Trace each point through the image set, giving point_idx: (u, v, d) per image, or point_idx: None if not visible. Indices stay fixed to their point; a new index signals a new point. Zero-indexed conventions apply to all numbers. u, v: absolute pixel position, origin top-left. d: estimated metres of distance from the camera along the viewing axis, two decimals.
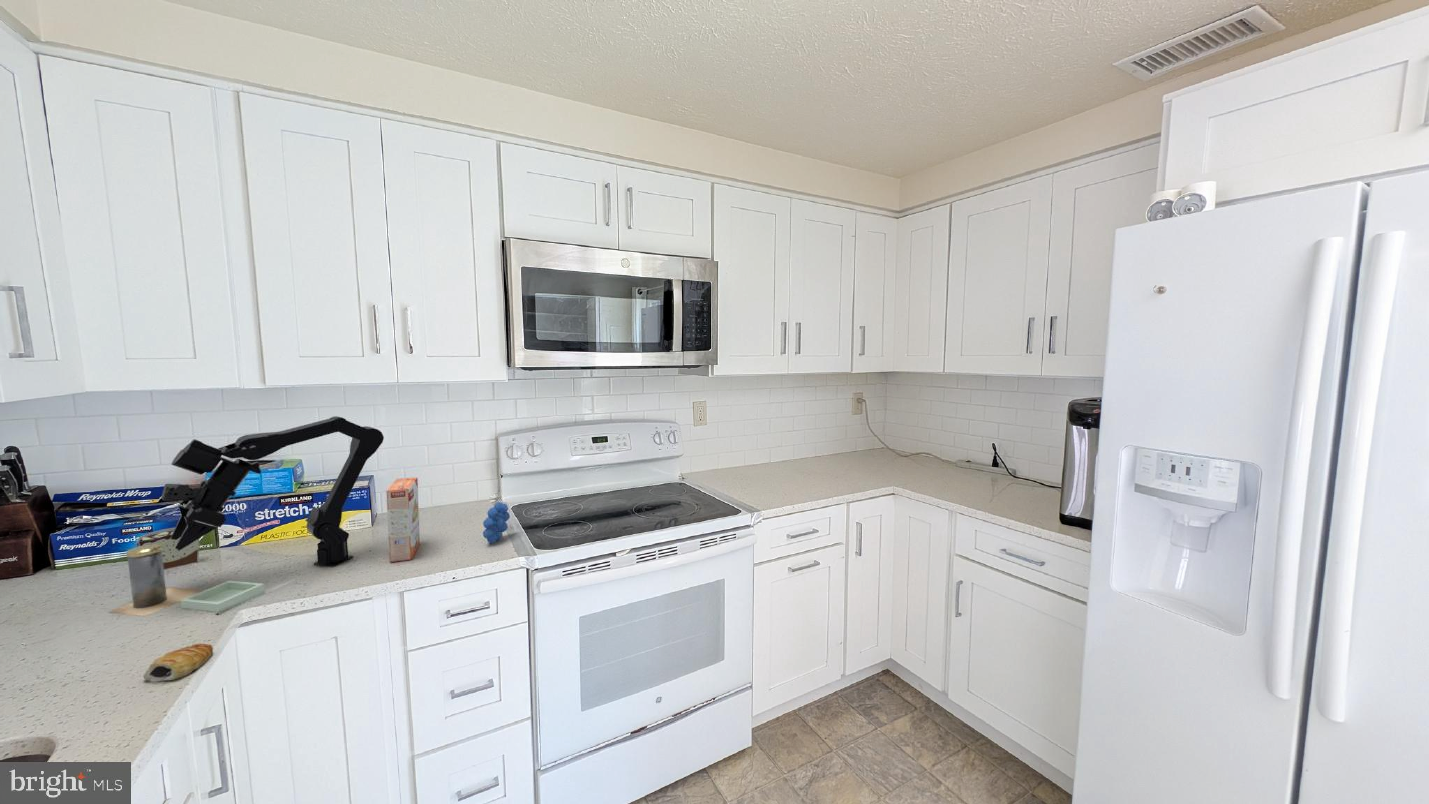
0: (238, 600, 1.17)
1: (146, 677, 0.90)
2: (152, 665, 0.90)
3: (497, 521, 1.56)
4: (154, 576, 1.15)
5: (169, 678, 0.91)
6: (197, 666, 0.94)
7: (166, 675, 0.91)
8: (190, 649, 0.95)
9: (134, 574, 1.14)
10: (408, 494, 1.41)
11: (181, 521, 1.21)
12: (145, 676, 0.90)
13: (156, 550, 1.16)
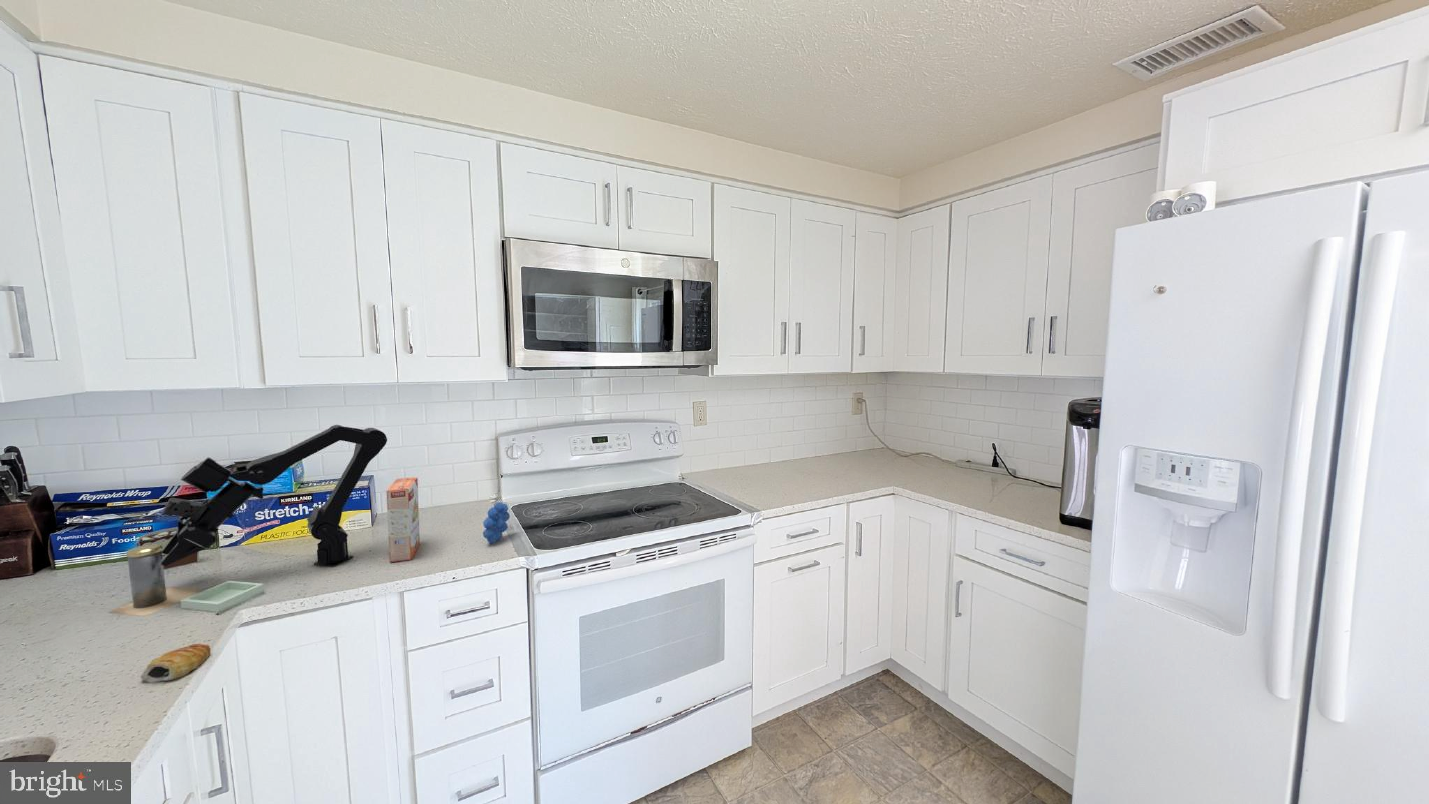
0: (238, 600, 1.17)
1: (143, 677, 0.90)
2: (150, 665, 0.90)
3: (497, 521, 1.56)
4: (154, 576, 1.15)
5: (167, 678, 0.90)
6: (195, 666, 0.94)
7: (164, 675, 0.91)
8: (188, 649, 0.95)
9: (134, 574, 1.14)
10: (408, 494, 1.41)
11: (176, 536, 1.22)
12: (143, 676, 0.90)
13: (156, 550, 1.16)
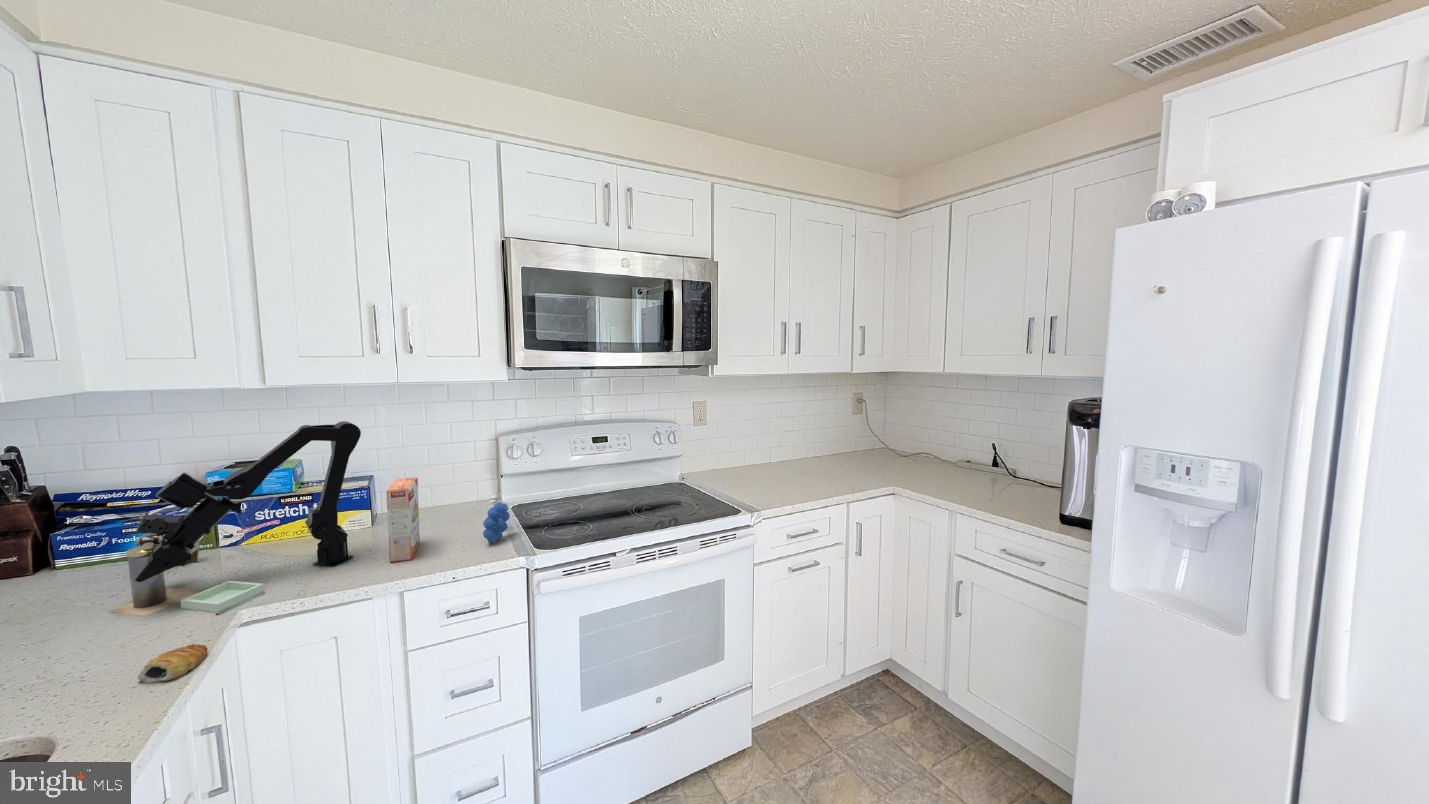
0: (238, 600, 1.17)
1: (140, 678, 0.90)
2: (147, 666, 0.90)
3: (497, 521, 1.56)
4: (154, 576, 1.15)
5: (164, 678, 0.90)
6: (192, 666, 0.94)
7: (161, 676, 0.91)
8: (185, 649, 0.95)
9: (134, 574, 1.14)
10: (408, 494, 1.41)
11: None
12: (140, 677, 0.90)
13: None
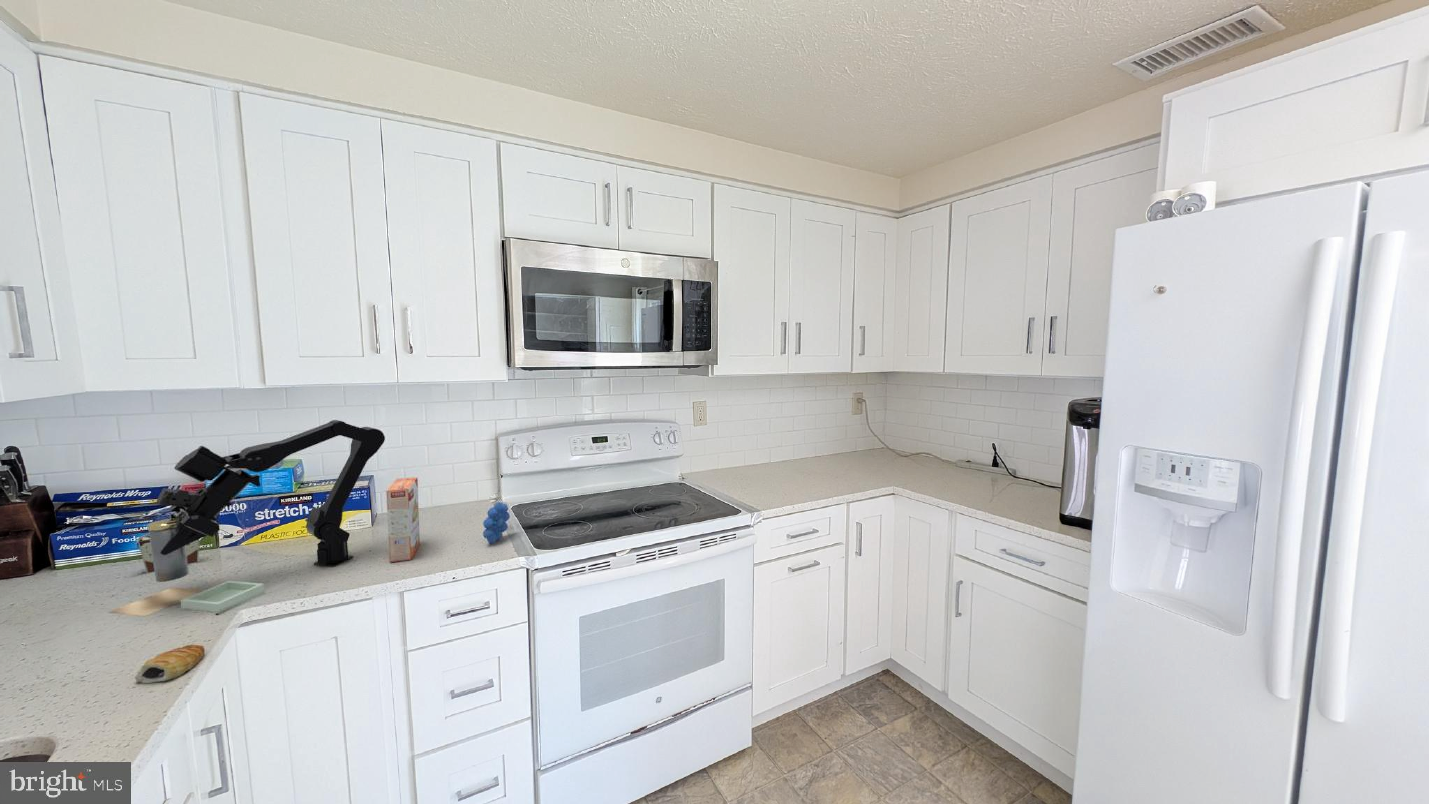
0: (238, 600, 1.17)
1: (138, 678, 0.90)
2: (144, 666, 0.90)
3: (497, 521, 1.56)
4: (177, 549, 1.15)
5: (162, 679, 0.90)
6: (190, 667, 0.94)
7: (159, 676, 0.91)
8: (182, 650, 0.95)
9: (157, 547, 1.13)
10: (408, 494, 1.41)
11: None
12: (137, 678, 0.90)
13: None
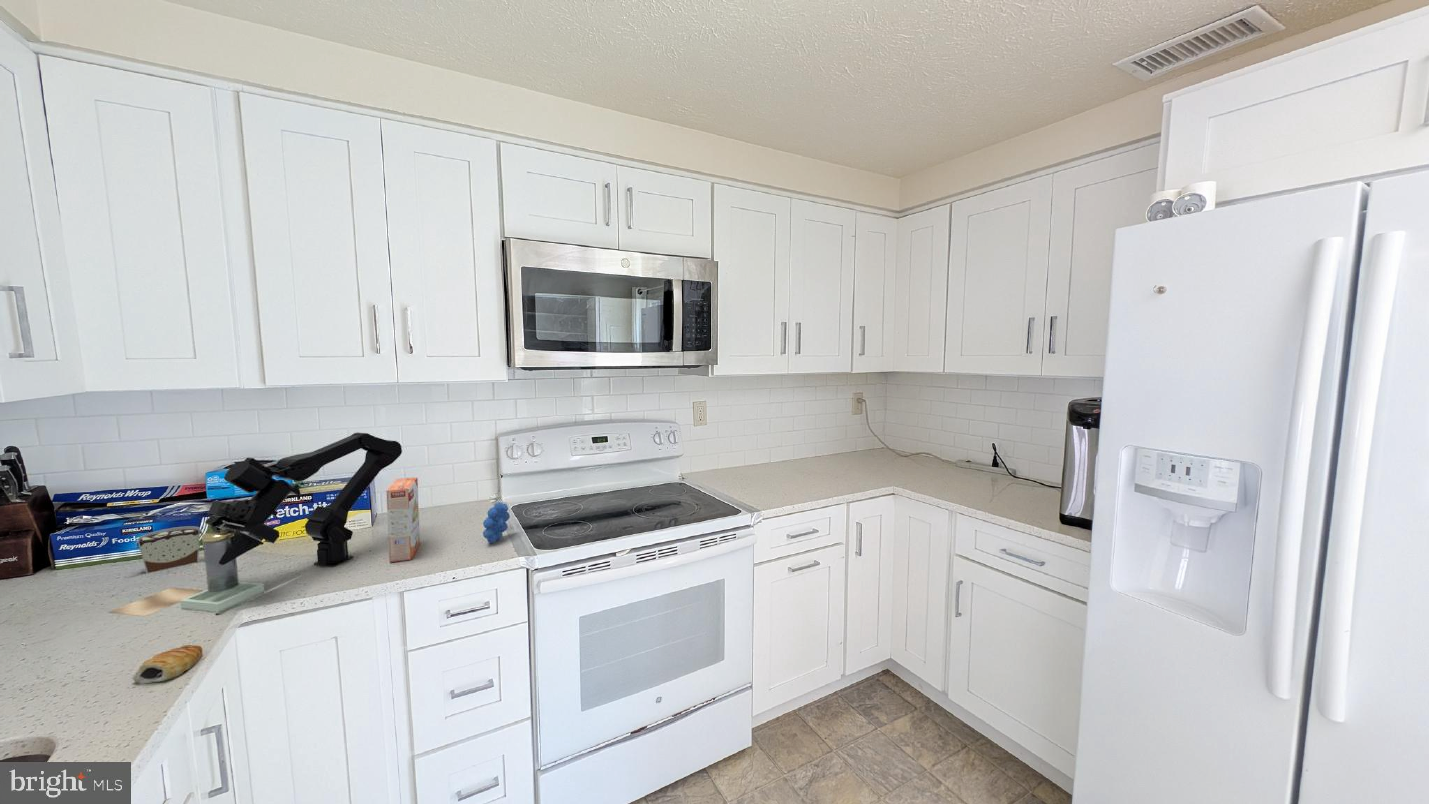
0: (238, 600, 1.17)
1: (136, 678, 0.90)
2: (142, 667, 0.90)
3: (497, 521, 1.56)
4: None
5: (160, 679, 0.90)
6: (188, 667, 0.94)
7: (157, 676, 0.91)
8: (180, 650, 0.95)
9: (215, 558, 1.15)
10: (408, 494, 1.41)
11: None
12: (135, 678, 0.90)
13: (233, 533, 1.18)
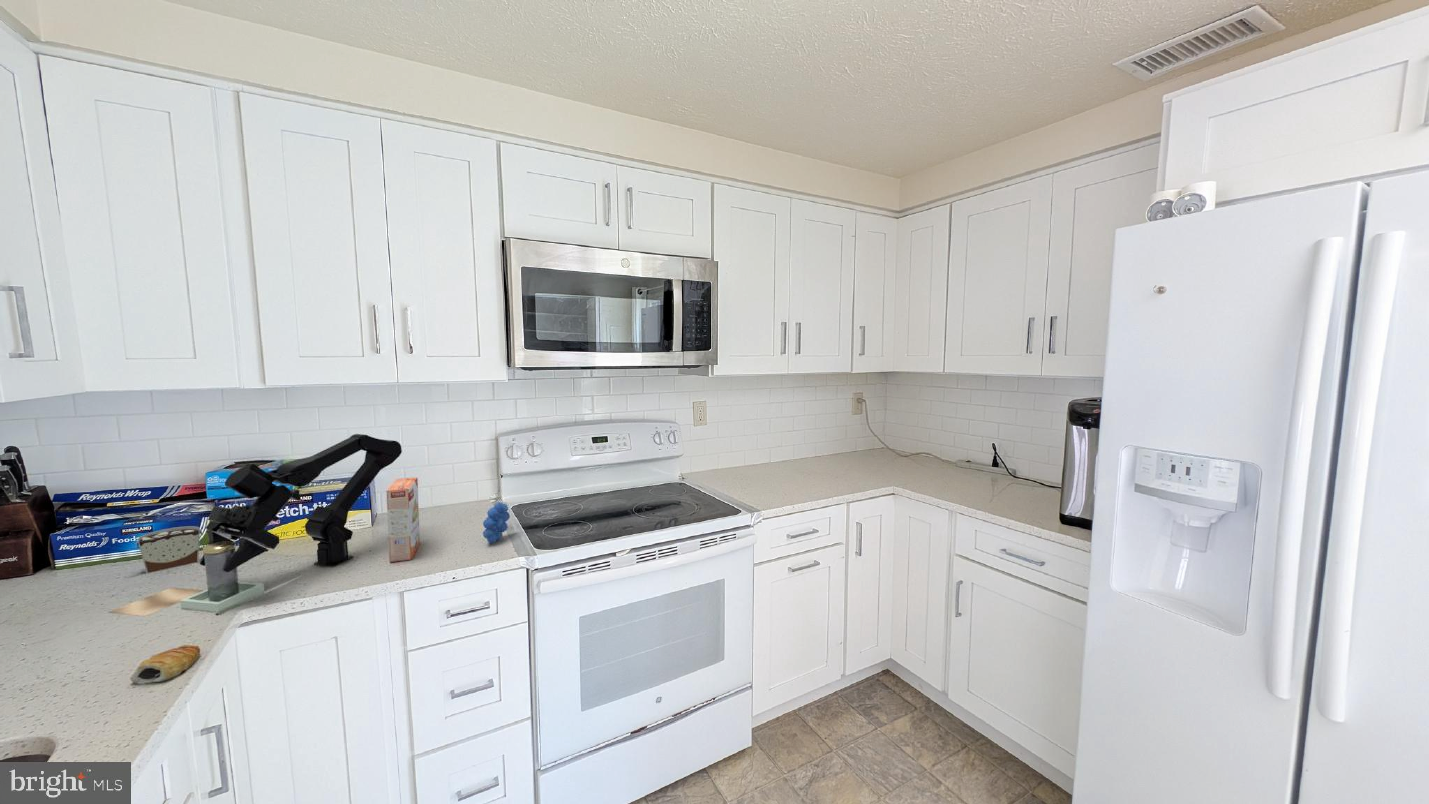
0: (238, 600, 1.17)
1: (133, 679, 0.90)
2: (140, 667, 0.90)
3: (497, 521, 1.56)
4: (233, 570, 1.18)
5: (158, 679, 0.90)
6: (186, 667, 0.94)
7: (155, 677, 0.91)
8: (178, 650, 0.95)
9: (216, 570, 1.16)
10: (408, 494, 1.41)
11: None
12: (133, 678, 0.90)
13: (234, 545, 1.18)
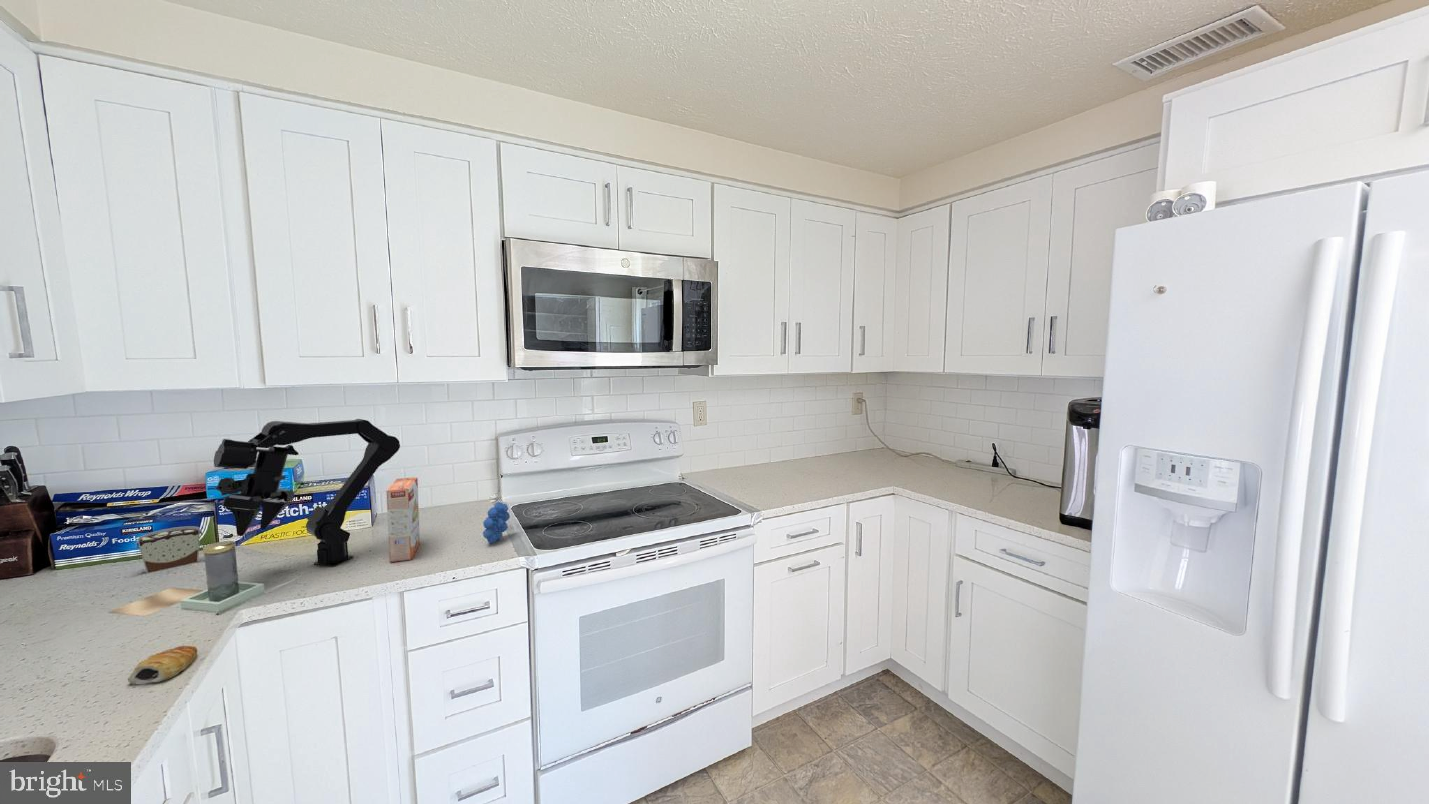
0: (238, 600, 1.17)
1: (131, 680, 0.89)
2: (137, 668, 0.90)
3: (497, 521, 1.56)
4: (234, 570, 1.18)
5: (156, 680, 0.90)
6: (184, 667, 0.94)
7: (152, 677, 0.91)
8: (175, 651, 0.94)
9: (216, 570, 1.16)
10: (408, 494, 1.41)
11: (263, 512, 1.32)
12: (130, 679, 0.89)
13: (234, 545, 1.18)
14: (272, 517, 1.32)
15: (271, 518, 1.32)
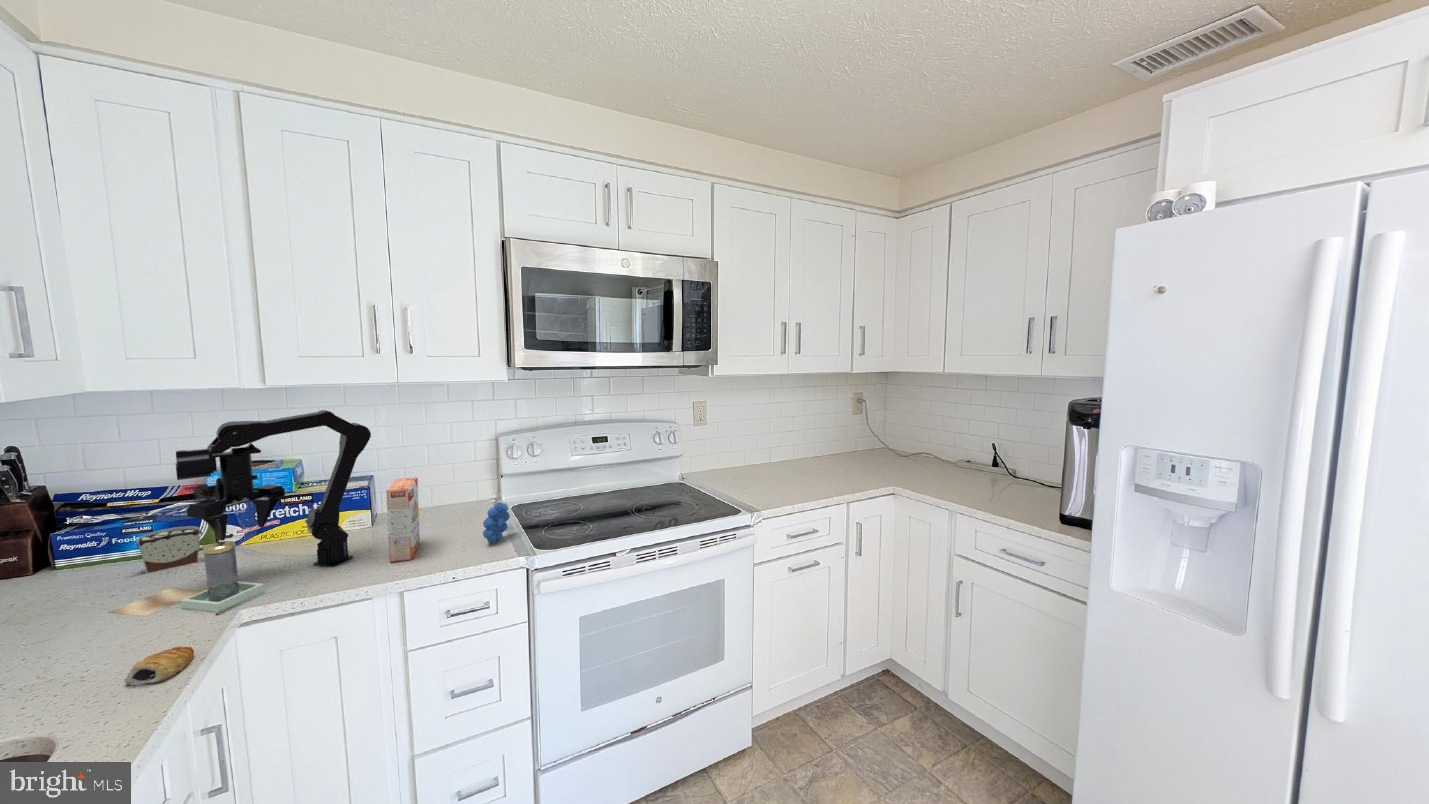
0: (238, 600, 1.17)
1: (128, 681, 0.89)
2: (134, 668, 0.89)
3: (497, 521, 1.56)
4: (233, 570, 1.18)
5: (154, 680, 0.90)
6: (181, 668, 0.94)
7: (149, 678, 0.90)
8: (172, 651, 0.94)
9: (216, 570, 1.16)
10: (408, 494, 1.41)
11: (257, 511, 1.31)
12: (127, 680, 0.89)
13: (234, 545, 1.18)
14: (264, 515, 1.31)
15: (264, 516, 1.31)
